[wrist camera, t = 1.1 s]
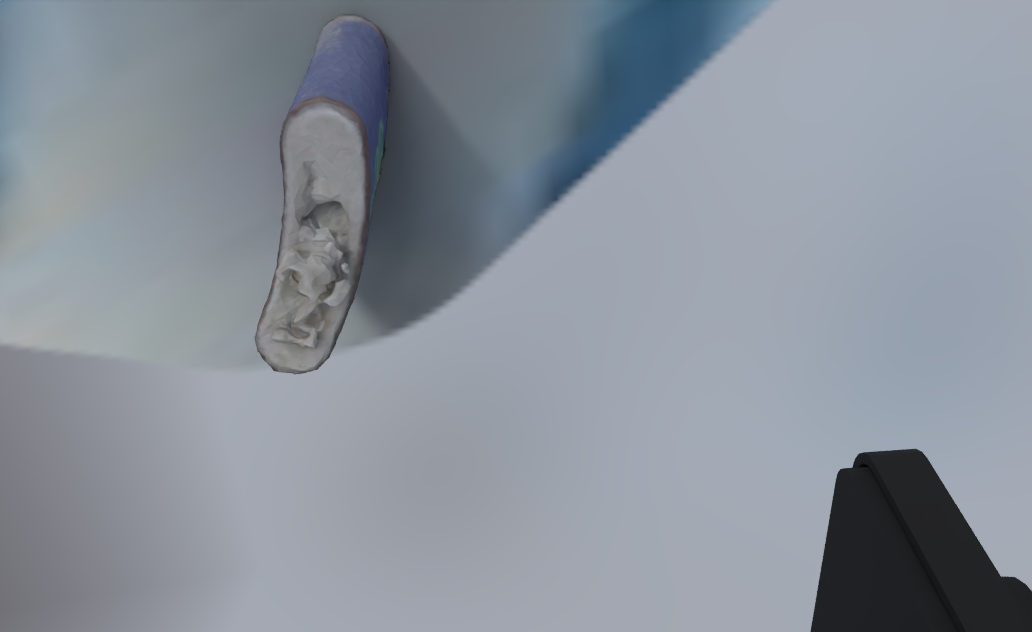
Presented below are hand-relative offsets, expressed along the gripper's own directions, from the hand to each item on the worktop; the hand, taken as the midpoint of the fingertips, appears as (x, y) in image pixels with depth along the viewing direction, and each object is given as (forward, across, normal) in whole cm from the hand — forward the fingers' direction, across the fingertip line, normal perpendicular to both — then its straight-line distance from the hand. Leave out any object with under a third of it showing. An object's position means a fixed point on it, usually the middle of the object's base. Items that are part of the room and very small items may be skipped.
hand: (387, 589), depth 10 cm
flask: (+27, +4, +6) cm, 28 cm away
